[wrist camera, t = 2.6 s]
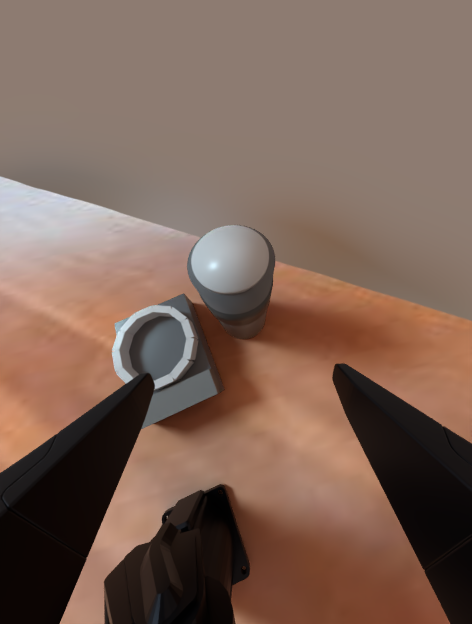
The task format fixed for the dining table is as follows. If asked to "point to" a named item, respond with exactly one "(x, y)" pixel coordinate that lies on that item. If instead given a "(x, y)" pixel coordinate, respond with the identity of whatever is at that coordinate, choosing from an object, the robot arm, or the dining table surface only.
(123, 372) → the camera body
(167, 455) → the dining table surface
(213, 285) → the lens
